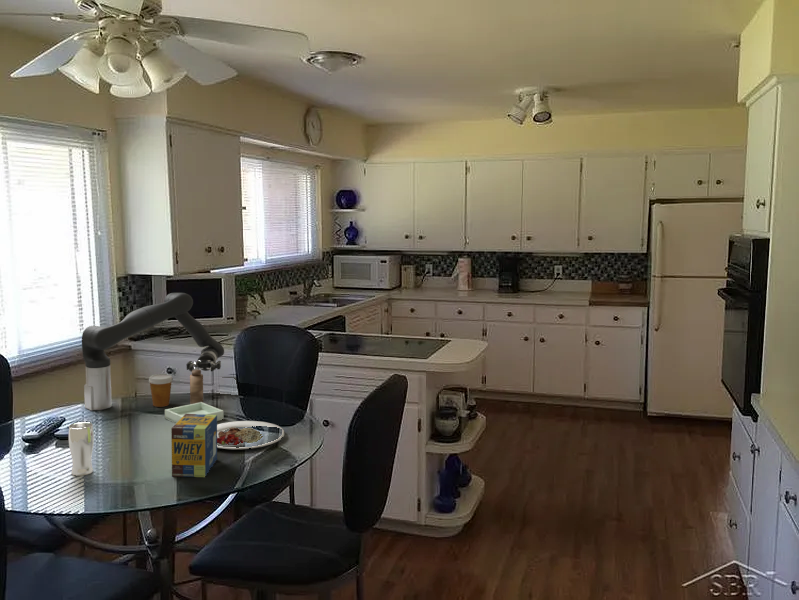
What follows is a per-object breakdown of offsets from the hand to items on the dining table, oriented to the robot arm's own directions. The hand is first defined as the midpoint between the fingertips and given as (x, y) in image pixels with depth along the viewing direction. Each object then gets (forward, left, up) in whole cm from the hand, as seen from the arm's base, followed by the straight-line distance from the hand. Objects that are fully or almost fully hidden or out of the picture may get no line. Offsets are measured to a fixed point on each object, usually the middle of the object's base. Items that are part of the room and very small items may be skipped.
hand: (201, 369), depth 292 cm
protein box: (-43, -69, -13) cm, 82 cm away
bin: (-17, -24, -13) cm, 32 cm away
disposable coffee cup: (-17, +2, -13) cm, 22 cm away
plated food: (-16, -55, -13) cm, 59 cm away
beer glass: (-70, -49, -13) cm, 87 cm away
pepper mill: (-7, -9, -13) cm, 17 cm away
